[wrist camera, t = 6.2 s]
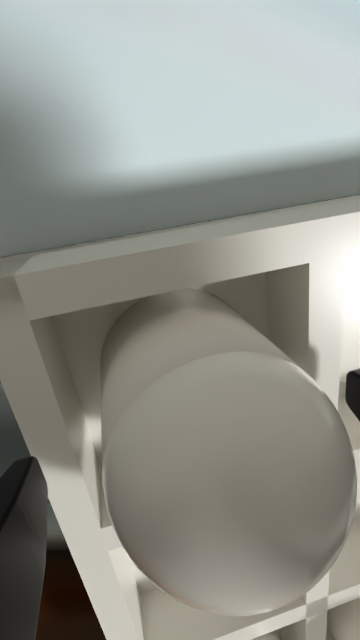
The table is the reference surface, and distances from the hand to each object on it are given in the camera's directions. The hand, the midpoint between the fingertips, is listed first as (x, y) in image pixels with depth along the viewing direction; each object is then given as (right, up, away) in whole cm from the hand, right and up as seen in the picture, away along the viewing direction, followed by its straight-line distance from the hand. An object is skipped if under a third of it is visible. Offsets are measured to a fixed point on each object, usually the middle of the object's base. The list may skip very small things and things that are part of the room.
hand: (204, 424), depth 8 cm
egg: (-1, +1, +3) cm, 3 cm away
